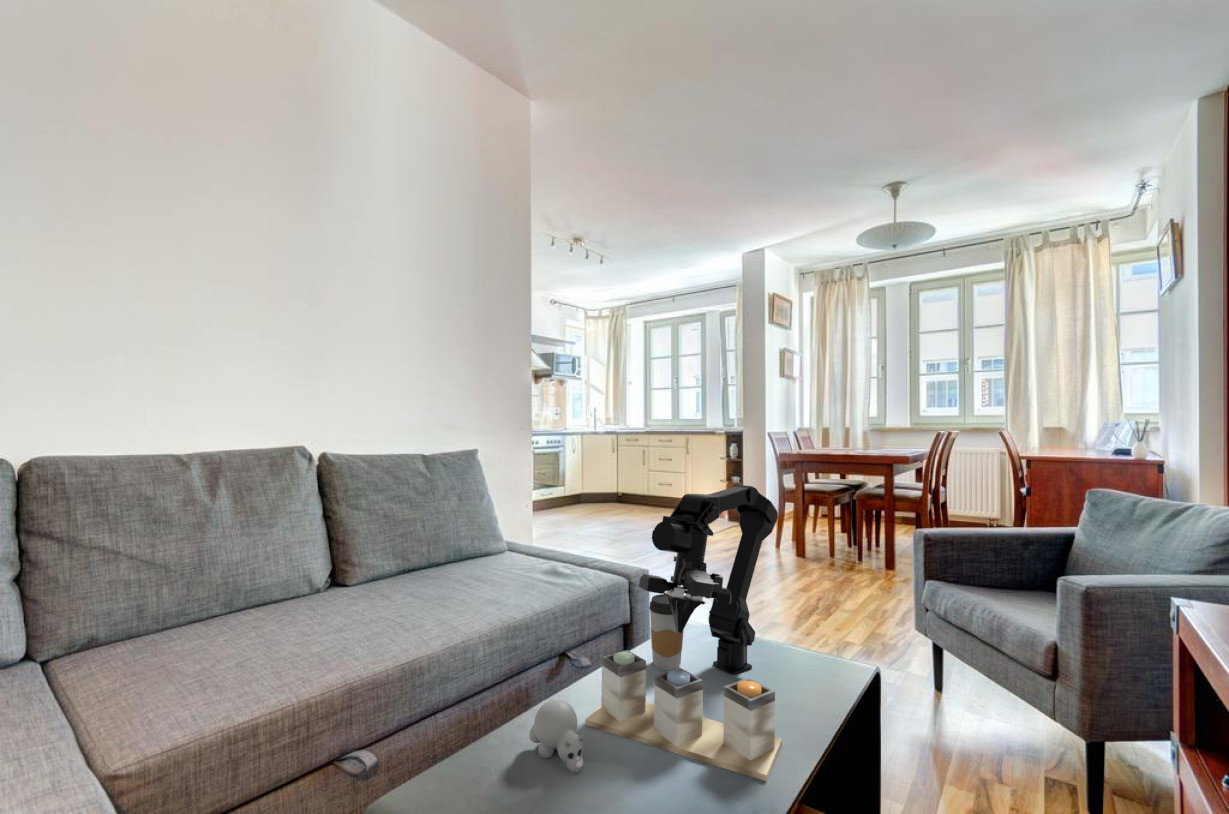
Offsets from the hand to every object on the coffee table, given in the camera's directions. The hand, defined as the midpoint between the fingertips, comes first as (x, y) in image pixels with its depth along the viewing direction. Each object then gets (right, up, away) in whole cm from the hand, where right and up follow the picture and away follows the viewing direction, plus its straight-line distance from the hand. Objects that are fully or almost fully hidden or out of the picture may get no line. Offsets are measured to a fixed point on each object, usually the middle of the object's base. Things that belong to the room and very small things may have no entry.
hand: (678, 632), depth 116 cm
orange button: (+10, -4, -19) cm, 22 cm away
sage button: (-11, -3, -8) cm, 14 cm away
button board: (-1, -13, -14) cm, 19 cm away
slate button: (-2, -3, -15) cm, 16 cm away
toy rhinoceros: (-22, -12, -22) cm, 34 cm away
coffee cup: (-1, -13, +14) cm, 20 cm away
